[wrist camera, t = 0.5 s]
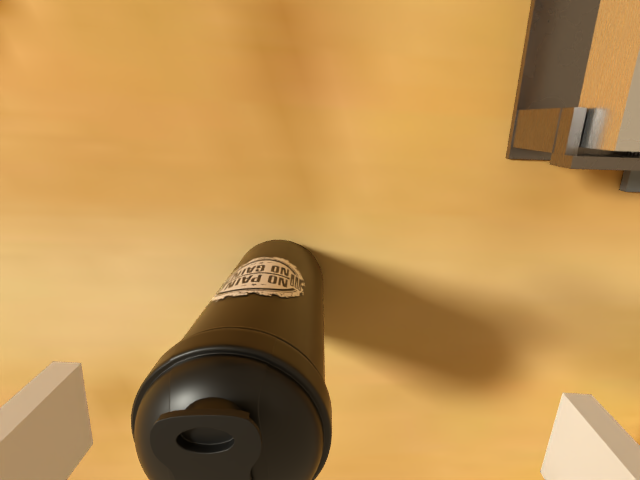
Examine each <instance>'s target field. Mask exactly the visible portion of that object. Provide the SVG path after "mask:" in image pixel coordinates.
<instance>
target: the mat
mask: <svg viewBox="0 0 640 480" xmlns="http://www.w3.org/2000/svg"><path fill="white" fill-rule="evenodd" d="M619 190H621V191H625V192H640V171H631V170H624V173H623V177H622V181H621V185H620V189H619Z"/></svg>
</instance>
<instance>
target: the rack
mask: <svg viewBox="0 0 640 480" xmlns="http://www.w3.org/2000/svg"><path fill="white" fill-rule="evenodd" d="M600 1H601V0H532V1H531V7H530V13H529V20H528V26H527V32H526V38H525V44H524V50H523V56H522V62H521V68H520V74H519V80H518V87H517V93H516V99H515V105H514V111H513V117H512V123H511V129H510V135H509V141H508V147H507V153H506V158H508V159H535V160H550V165H555V166H560V167H565V168H570V169H599V170H631V171H640V152H631V151H610V150H601V149H592V148H583V147H579V144H580V139H581V134H582V130H583V125H584V120H585V116H586V111H587V108H583V107H578V106H579V101H580V96H581V91H582V87H583V82H584V77H585V72H586V68H587V63H588V58H589V53H590V49H591V44H592V39H593V34H594V29H595V25H596V20H597V15H598V10H599V6H600Z"/></svg>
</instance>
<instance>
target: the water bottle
mask: <svg viewBox="0 0 640 480" xmlns="http://www.w3.org/2000/svg"><path fill="white" fill-rule="evenodd" d="M131 428H132V434H133V439H134V442H135V446H136V451H137V455H138V458H139V461H140V464H141V466H142V468H143V470H144V472H145V474H146V475H147V477H148V479H149V480H314V479H315V478H316V477H317V476H318V474H319V473H320V472H321V470H322V468H323V466H324V464H325V462H326V460H327V457H328V454H329V450H330V446H331V438H332V409H331V401H330V397H329V393H328V390H327V387H326V384H325V365H324V319H323V278H322V272H321V269H320V266H319V264H318V262H317V261H316V259H315V258H314V256H313V255H312V254H311V253H310V252H309V251H308V250H306V249H305V248H303V247H302V246H300V245H298V244H296V243H293V242H290V241H285V240H271V241H266V242H263V243H261V244H258V245H256V246H255V247H253V248H252V249H251V250H249V251H248V252H247V253H246V255H245V256H244V257H243V259H242V260H241V261H240V263H239V264H238V265H237V267H236V268H235V269H234V271H233V272H232V273H231V275H230V276H229V277H228V279H227V280H226V281H225V282H224V283H223V285H222V287H221V288H220V289H219V291H218V292H217V293H216V295H214V297H213V298H212V300H211V301H210V303H209V304H208V306H206V308H205V310H204V311H203V312H202V314H201V315H200V316H199V318H198V319H197V320H196V322H195V323H194V324H193V326H192V327H191V328H190V330H189V331H188V332H187V334H186V335H185V336H184V338H183V339H182V340H181V341H180V342H179V343H177V344H176V345H175V346H173V347H172V348H171V349H169V350H168V351H167V352H166V353H165V354H164V355H163V356H162V357H161V358H160V359H159V361H158V362H157V363H156V365H155V366H154V368H153V369H152V370H151V372H150V373H149V375H148V376H147V377H146V379H145V380H144V382H143V383H142V385H141V387H140V388H139V391H138V393H137V395H136V398H135V400H134V404H133V408H132V414H131Z"/></svg>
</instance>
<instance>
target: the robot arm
mask: <svg viewBox="0 0 640 480" xmlns="http://www.w3.org/2000/svg"><path fill="white" fill-rule="evenodd" d="M92 444H93V439H92V433H91V426H90V419H89V413H88V406H87V399H86V393H85V386H84V379H83V373H82V366H81V363H72V362H56V361H53V362H52V363H51V364H50V365H49V366H47V367H46V368H45V369H44V370H43V371H42V372H41V373H39V374H38V375H37V376H36V377H35V378H34V379H33V380H31V381H30V382H29V383H28V384H27V385H26V386H25V387H23V388H22V389H21V390H20V391H19V392H18V393H17V394H15V395H14V396H13V397H12V398H11V399H10V400H9V401H7V402H6V403H5V404H4V405H3V406H2V407H1V408H0V480H67V479H68V477H69V476H70V474H71V473H72V472H73V470H74V469H75V468H76V466H77V465H78V464H79V462H80V461H81V459H82V458H83V457H84V455H85V454H86V453H87V451H88V450H89V448H90V447H91V446H92ZM540 472H541V474H542V476H543V477H544V479H545V480H640V446H639V445H638V444H637V443H636V441H635V440H634V439H633V438H632V437H631V436H630V435H629V434H628V433H627V432H626V431H625V430H624V429H623V428H622V427H621V426H620V424H619V423H618V422H617V421H616V420H615V419H614V418H613V417H612V416H611V415H610V414H609V413H608V412H607V411H606V410H605V409H604V407H603V406H602V405H601V404H600V403H599V402H598V401H597V400H596V399H595V398H594V397H593V396H592V395H591V394H575V393H563V394H562V397H561V401H560V404H559V408H558V411H557V415H556V418H555V422H554V425H553V429H552V433H551V436H550V440H549V443H548V447H547V450H546V454H545V457H544V461H543V464H542V468H541V471H540Z"/></svg>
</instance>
